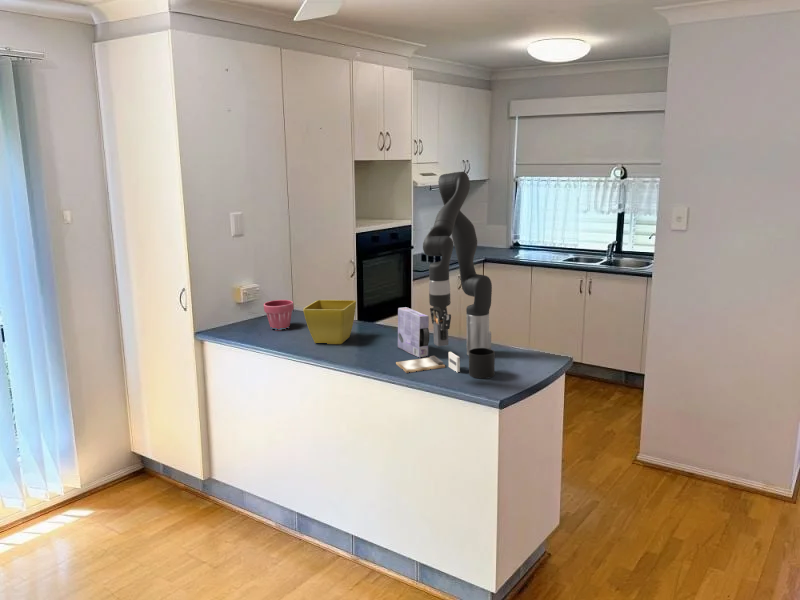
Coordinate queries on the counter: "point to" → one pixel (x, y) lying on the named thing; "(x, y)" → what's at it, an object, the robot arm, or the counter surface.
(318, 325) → the flower pot
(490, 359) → the mug
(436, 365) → the clipboard
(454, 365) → the block
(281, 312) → the plant pot
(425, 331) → the cake pan box
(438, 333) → the ball-topped gray post
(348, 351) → the counter surface
